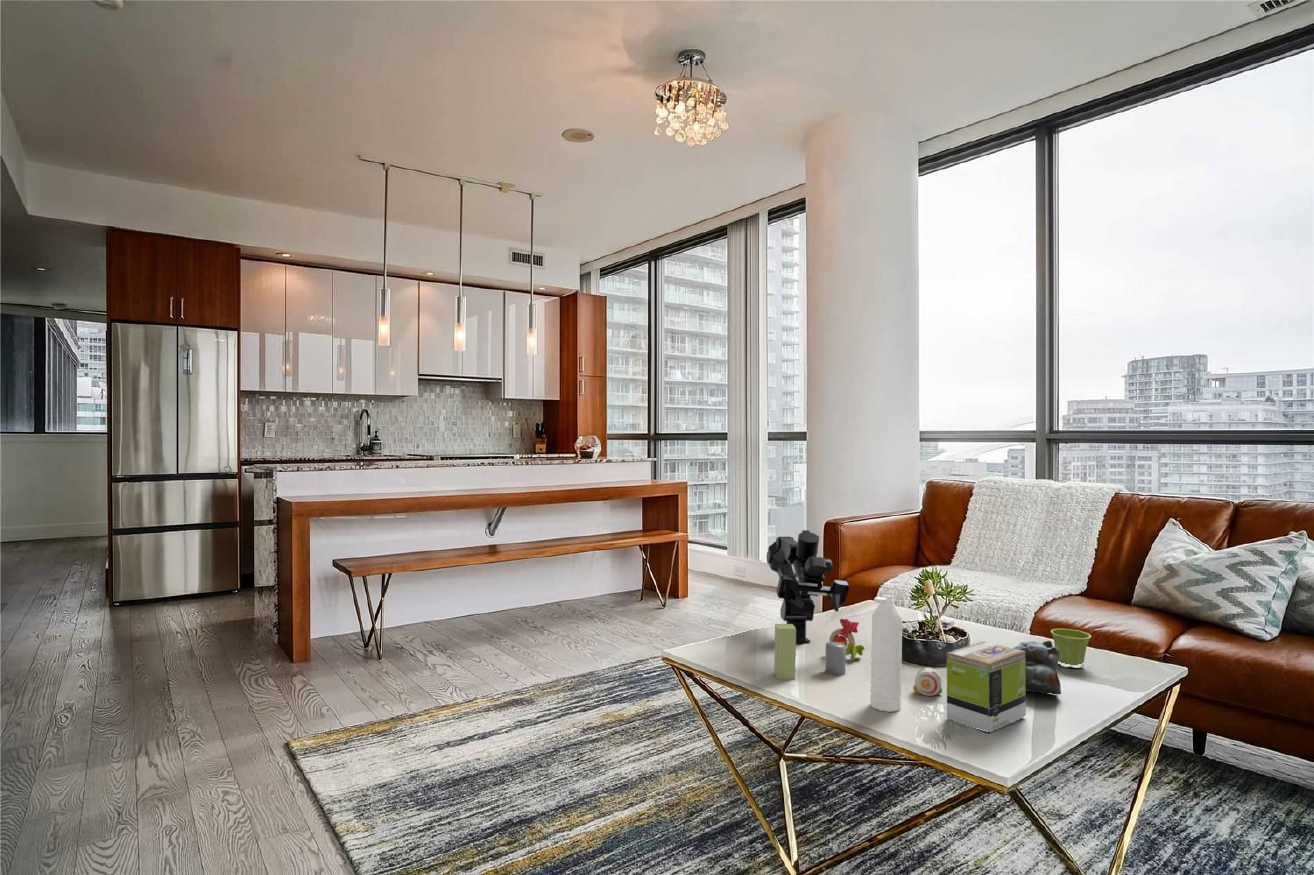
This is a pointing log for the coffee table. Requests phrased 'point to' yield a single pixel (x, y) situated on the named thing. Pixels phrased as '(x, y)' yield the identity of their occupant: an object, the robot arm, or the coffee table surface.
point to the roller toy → (928, 682)
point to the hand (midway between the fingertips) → (820, 608)
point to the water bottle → (886, 655)
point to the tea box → (986, 685)
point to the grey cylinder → (835, 658)
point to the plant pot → (1071, 645)
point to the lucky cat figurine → (1041, 666)
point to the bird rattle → (847, 632)
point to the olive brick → (785, 651)
